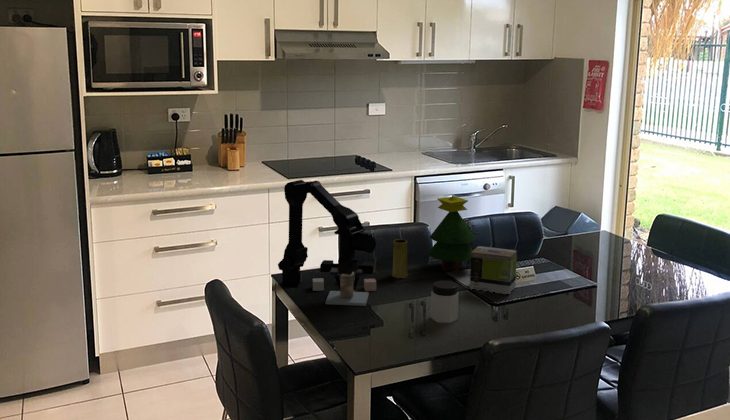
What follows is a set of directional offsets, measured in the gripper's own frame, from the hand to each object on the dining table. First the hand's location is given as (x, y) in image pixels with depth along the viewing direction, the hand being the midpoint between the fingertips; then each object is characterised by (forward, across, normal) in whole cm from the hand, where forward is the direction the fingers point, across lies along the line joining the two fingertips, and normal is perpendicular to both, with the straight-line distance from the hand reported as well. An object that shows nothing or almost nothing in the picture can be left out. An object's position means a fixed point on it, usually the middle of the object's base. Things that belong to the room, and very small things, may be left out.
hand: (347, 290), depth 261 cm
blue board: (+4, 0, 0) cm, 4 cm away
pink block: (+4, +7, +12) cm, 14 cm away
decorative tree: (+4, +37, +40) cm, 55 cm away
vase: (+4, +17, +28) cm, 33 cm away
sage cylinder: (+4, -2, +19) cm, 19 cm away
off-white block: (+4, -12, +10) cm, 16 cm away
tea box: (+4, +52, +18) cm, 55 cm away
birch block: (+2, 0, 0) cm, 2 cm away
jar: (+4, +34, -14) cm, 37 cm away
